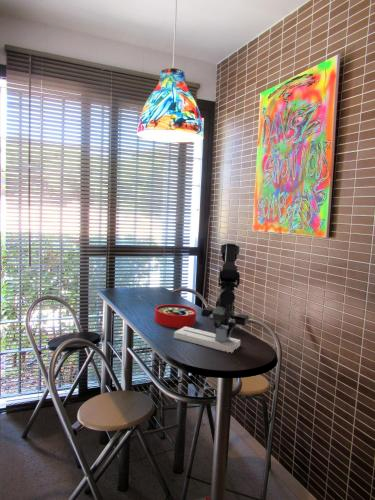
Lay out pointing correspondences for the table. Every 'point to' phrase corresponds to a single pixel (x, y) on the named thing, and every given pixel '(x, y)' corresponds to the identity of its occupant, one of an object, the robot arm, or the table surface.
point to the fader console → (206, 339)
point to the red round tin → (175, 316)
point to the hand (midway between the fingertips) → (222, 336)
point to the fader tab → (222, 333)
